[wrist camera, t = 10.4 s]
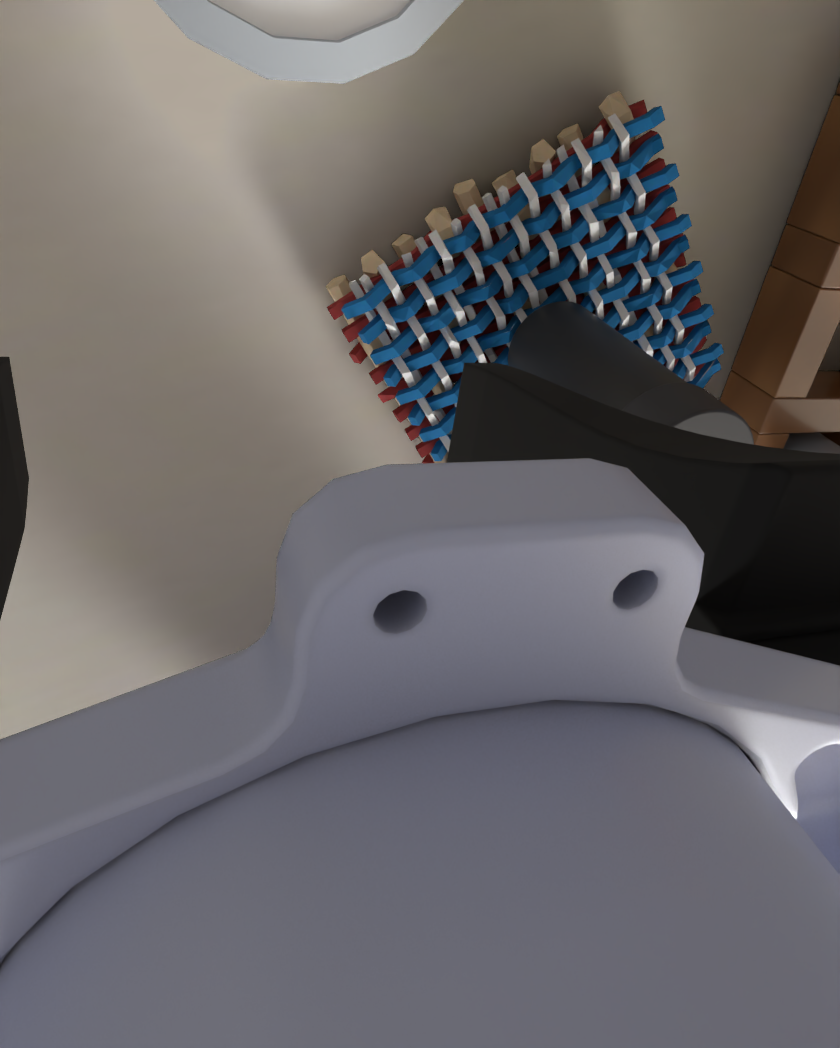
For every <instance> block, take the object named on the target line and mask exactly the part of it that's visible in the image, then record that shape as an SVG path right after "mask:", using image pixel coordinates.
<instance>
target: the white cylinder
mask: <svg viewBox="0 0 840 1048" xmlns="http://www.w3.org/2000/svg"><path fill="white" fill-rule="evenodd" d="M154 1H155V2H156V3H157V4H158V5H159V6H160V8H161V9H162V10H163V11H164V12H165V13H166V14H167V15H168V16H169V18H170V19H171V20H172V21H173V22H174V23H175V24H176V25H177V26H178V27H179V29H180V30H181V31H182V32H183V33H184V34H185V35H186V36H187V37H188V38H189V39H191V40H192V41H194V42H196V43H198V44H200V45H202V46H204V47H206V48H208V49H210V50H212V51H214V52H215V53H217V54H219V55H221V56H223V57H225V58H227V59H229V60H231V61H233V62H235V63H237V64H238V65H240V66H242V67H244V68H246V69H248V70H250V71H252V72H254V73H256V74H258V75H260V76H261V77H263V78H265V79H271V80H289V81H306V82H323V83H340V84H345V83H347V82H349V81H352V80H354V79H356V78H359V77H361V76H363V75H366V74H368V73H371V72H373V71H375V70H378V69H380V68H382V67H385V66H387V65H390V64H392V63H394V62H397V61H399V60H401V59H404V58H406V57H409V56H411V55H413V54H414V53H415V52H416V51H417V50H418V49H419V48H420V47H421V46H422V45H423V44H424V43H425V42H426V41H427V40H428V38H429V37H430V36H431V35H432V34H433V33H434V32H435V31H436V30H437V29H438V28H439V27H440V26H441V25H442V23H443V22H444V21H445V20H446V19H447V18H448V17H449V16H450V15H451V14H452V13H453V12H454V11H455V10H456V8H457V7H458V6H459V5H460V4H461V3H462V2H463V1H464V0H154Z"/></svg>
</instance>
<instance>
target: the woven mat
mask: <svg viewBox="0 0 840 1048" xmlns="http://www.w3.org/2000/svg"><path fill="white" fill-rule="evenodd" d="M599 109H600V111H601V113H602V114H603V116H604V119H602V120H601V121H600V123H599V124H598V125H597V126H596V128H595V129H594V130H593V132H592V133H591V134H590V135H589V136H587V137H586V138H583V135H582V133H581V130H580V127H579V125H578V124H576V125H573V126H570V127H568V128H565V129H563V130H562V131H561V132H560V134H559V135H558V136H557V138H558V141H559V143H560V146H561V147H559V148H558V149H557V150H556V151H557V154H558V157H557V158H556V159H555V155H556V151H555V150H554V149H553V148H552V147H551V146H550V145H549V144H548V143H547V142H546V141H545V140H544V139H542V140H541V141H539V142H538V143H537V144H535V145H534V146H533V147H532V148H531V156H530V164H529V169H530V171H531V174H532V175H531V176H529V177H528V178H527V176H526V175H525V173H524V172H523V173H521V174H520V175H519V176H516V174H515V173H514V171H513V169H512V170H511V171H509V172H507V173H505V174H503V175H501V176H500V177H498V178H497V179H496V180H495V181H494V182H492V185H493V187H494V189H495V191H496V192H497V194H498V196H497V197H495V198H493V196H492V194H491V193H486V194H485V195H484V196H483V197H482V198H481V195H480V193H479V191H478V188H477V186H476V184H475V182H474V180H473V179H470V180H467V181H464V182H461V183H458V184H455V187H454V190H453V194H454V196H455V198H456V200H457V202H458V205H459V207H460V209H461V211H462V213H463V216H461V217H458V218H455V219H453V220H452V219H451V217H450V215H449V213H448V211H447V209H446V207H440V208H434V209H433V210H432V211H431V212H430V213H429V214H428V215H427V217H426V218H425V220H426V222H427V224H428V226H429V227H430V229H431V231H429V232H428V233H427V235H426V236H425V237H424V238H423V236H421V237H420V238H418V239H416V240H414V238H413V236H411V235H407V234H402V235H401V236H400V237H399V238H398V239H397V240H396V241H395V242H394V243H393V244H392V246H393V248H394V250H395V252H396V253H397V255H398V257H399V260H398V261H396V262H394V263H393V264H391V265H390V266H388V267H387V266H386V264H385V262H384V261H383V260H382V259H381V258H380V257H379V256H378V255H377V254H376V253H375V252H374V251H373V250H371V251H370V252H368V253H367V254H366V255H364V256H363V257H362V258H361V261H362V269H363V273H364V275H363V276H362V277H361V278H360V279H359V280H360V282H361V285H360V286H359V284H358V283H357V281H356V280H354V281H351V282H349V281H348V279H347V278H346V276H345V274H344V275H342V276H339V277H336V278H333V279H332V280H331V281H330V282H329V283H328V285H327V286H326V288H327V290H328V291H329V293H330V295H331V296H332V298H333V300H334V301H335V302H334V303H333V304H331V305H330V306H328V307H327V308H328V311H329V312H330V314H331V316H332V317H333V319H334V320H335V319H337V318H338V317H340V316H342V315H343V316H344V318H345V319H346V321H347V323H348V324H349V325H348V326H346V327H345V328H343V329H342V332H343V334H344V335H345V337H346V338H347V340H348V342H351V341H353V340H354V339H356V338H357V339H358V341H359V342H358V344H357V345H356V346H355V347H354V348H353V350H352V351H351V352H350V353H349V354H350V356H351V358H352V359H353V361H354V362H355V363H359V364H361V363H362V361H363V360H364V359H365V358H366V357H367V356H369V358H370V359H371V361H372V362H373V364H374V365H375V367H376V368H375V369H374V370H372V371H371V372H370V373H369V374H370V376H371V378H372V379H373V381H374V382H375V384H376V385H377V384H378V383H380V382H381V381H383V380H384V382H385V383H386V385H387V386H388V388H387V389H385V390H384V391H382V392H381V393H380V394H378V397H379V398H380V399H381V401H382V402H383V403H384V402H386V401H389V400H391V399H393V398H395V399H396V401H397V402H398V404H399V407H398V408H396V409H395V410H394V411H392V412H393V413H394V415H395V416H396V418H397V420H398V421H399V422H402V421H403V420H405V419H406V418H408V420H409V422H410V423H411V426H409V427H408V428H406V429H405V431H406V433H407V435H408V436H409V438H410V440H411V441H412V440H414V439H415V438H417V437H418V436H419V438H420V439H421V441H422V442H421V443H420V444H418V445H416V449H417V451H418V452H419V454H420V456H421V457H422V458H423V457H424V456H426V455H427V456H426V457H425V459H424V460H423V462H422V463H447V458H448V452H449V446H450V441H451V435H452V429H453V423H454V418H455V412H456V406H457V400H458V395H459V389H460V383H461V377H462V372H463V366H464V363H498V364H504V365H508V352H509V347H510V343H511V340H512V338H513V335H514V334H515V332H516V330H517V328H518V327H519V326H520V324H521V323H522V322H523V321H524V319H525V318H527V317H528V316H529V315H530V314H531V313H532V312H534V311H535V310H537V309H538V308H540V307H542V306H544V305H547V304H550V303H554V302H560V301H568V302H574V303H577V304H579V305H582V306H583V307H585V308H586V309H588V310H589V311H590V312H592V313H593V314H594V315H596V316H597V317H598V318H600V319H601V320H603V321H604V322H605V323H607V324H608V325H609V326H611V327H612V328H613V329H615V330H616V331H618V332H619V333H620V334H622V335H623V336H624V337H626V338H627V339H628V340H630V341H631V342H633V343H634V344H635V345H637V346H638V347H639V348H641V349H642V350H643V351H645V352H646V353H648V354H649V355H650V356H652V357H653V358H654V359H656V360H657V361H658V362H660V363H661V364H663V365H664V366H665V367H667V368H668V369H669V370H671V371H672V372H673V373H675V374H676V375H678V376H679V377H680V378H682V379H683V380H684V381H686V382H687V383H690V384H694V385H697V386H699V387H701V388H704V386H705V385H706V384H707V382H708V381H709V379H710V378H711V377H712V375H713V374H714V373H716V372H718V371H719V370H721V366H720V362H719V361H718V359H717V358H718V357H719V356H720V355H721V354H723V353H724V351H723V348H722V345H721V344H719V343H714V344H713V345H711V346H710V347H709V348H707V349H704V350H702V351H699V350H700V349H701V348H702V347H703V345H704V343H705V342H706V340H707V339H706V335H708V334H710V333H711V328H710V324H709V323H708V321H707V319H708V318H710V317H711V316H712V315H713V314H714V312H713V308H712V305H711V304H704V305H702V306H701V302H700V299H699V298H698V297H696V296H694V295H696V294H698V293H700V292H701V289H700V285H699V283H698V281H697V279H694V278H696V277H697V276H698V275H700V274H701V273H702V272H703V268H702V265H701V262H700V261H693V262H692V263H690V264H689V265H688V266H686V267H684V268H682V269H679V270H678V269H677V267H681V266H684V265H686V261H685V257H684V253H683V252H684V251H686V250H687V249H689V248H690V247H689V243H688V239H687V237H686V236H685V235H683V233H682V232H684V231H685V230H686V229H688V228H689V227H691V226H692V225H691V221H690V218H689V214H682V215H680V216H679V217H678V218H677V217H676V213H675V209H674V208H671V207H669V208H667V207H668V206H670V205H671V204H673V203H674V202H676V201H677V197H676V193H675V190H674V188H673V187H670V186H669V185H667V184H669V183H670V182H671V181H673V180H674V179H676V178H677V177H678V176H679V173H678V170H677V166H676V164H668V165H667V166H666V165H665V162H664V159H662V158H658V159H656V160H654V161H652V162H651V163H649V164H647V165H645V164H646V163H647V162H648V161H649V160H650V159H651V157H652V156H653V155H655V154H656V153H658V152H659V151H661V150H662V149H663V148H664V147H663V143H662V139H661V137H660V135H659V133H658V134H657V132H655V131H649V132H647V133H646V134H644V135H643V136H641V137H640V138H638V139H636V140H635V137H636V135H638V134H641V133H643V132H645V131H647V130H649V129H652V128H654V127H655V126H657V125H658V124H660V123H661V122H662V121H664V120H665V118H664V114H663V110H662V107H661V106H659V107H655V108H653V109H651V110H650V111H649V112H647V109H646V106H645V102H644V100H642V101H639V102H637V103H634V104H632V105H629V106H628V105H627V103H626V101H625V100H624V98H623V96H622V95H621V93H620V91H618V92H616V93H613V94H610V95H608V96H607V98H606V99H605V100H604V101H603V102H602V103H601V105H600V106H599ZM599 161H600V163H599V164H597V165H596V166H594V163H596V162H599ZM644 165H645V166H644ZM566 183H567V184H566ZM565 184H566V185H565ZM652 190H653V191H652ZM650 191H651V192H650ZM648 192H649V193H648ZM646 193H648V194H646ZM538 197H540V198H538ZM482 199H483V200H482ZM666 208H667V209H666ZM571 210H572V211H571ZM494 227H495V228H494ZM475 242H476V243H475ZM474 243H475V244H474ZM472 244H473V245H472ZM471 245H472V246H471ZM517 245H519V247H517V248H516V249H515V247H516V246H517ZM557 249H560V250H558V251H557ZM549 254H550V256H548V255H549ZM440 258H442V261H443V265H442V266H440V267H438V265H437V261H438V260H439V259H440ZM485 266H487V267H486V268H484V269H483V270H482V267H485ZM411 282H412V283H413V284H412V285H410V286H409V287H407V288H406V289H404V290H403V291H401V289H400V287H399V286H402V285H405V284H408V283H411ZM650 285H651V286H650ZM606 286H607V288H606ZM692 296H693V297H692ZM540 303H541V305H540ZM423 304H424V306H425V307H423V308H421V307H422V305H423ZM420 308H421V309H420ZM419 309H420V310H419ZM662 329H663V330H662ZM391 340H393V342H391ZM697 351H699V352H697ZM483 352H484V353H483ZM508 366H509V365H508ZM456 381H457V383H456V384H455V385H454V386H453V383H452V382H456ZM433 394H435V395H434V396H433Z"/></svg>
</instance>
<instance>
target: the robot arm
mask: <svg viewBox="0 0 840 1048" xmlns="http://www.w3.org/2000/svg"><path fill="white" fill-rule="evenodd" d="M28 482H29V476H28V469H27V463H26V457H25V451H24V445H23V439H22V433H21V427H20V421H19V414H18V408H17V402H16V396H15V390H14V384H13V378H12V372H11V366H10V359H9V357H0V619H1V615H2V612H3V608H4V604H5V600H6V597H7V593H8V589H9V586H10V582H11V578H12V574H13V571H14V567H15V563H16V559H17V556H18V552H19V548H20V544H21V540H22V536H23V532H24V528H25V518H26V508H27V496H28ZM0 1048H840V454H834V453H817V452H806V451H798V450H790V449H781V448H773V447H766V446H760V445H753V444H747V443H741V442H736V441H731V440H726V439H721V438H716V437H711V436H706V435H702V434H698V433H694V432H690V431H686V430H682V429H679V428H675V427H672V426H668V425H665V424H661V423H658V422H654V421H651V420H648V419H645V418H642V417H639V416H636V415H633V414H630V413H627V412H625V411H622V410H619V409H617V408H614V407H611V406H609V405H606V404H603V403H601V402H598V401H596V400H593V399H591V398H588V397H586V396H584V395H581V394H579V393H576V392H574V391H572V390H569V389H567V388H565V387H562V386H560V385H557V384H555V383H553V382H550V381H548V380H546V379H543V378H541V377H538V376H536V375H533V374H531V373H528V372H526V371H523V370H520V369H517V368H514V367H511V366H508V365H504V364H498V363H464V366H463V372H462V377H461V383H460V389H459V395H458V400H457V406H456V412H455V418H454V423H453V429H452V435H451V441H450V446H449V452H448V458H447V463H423V464H391V465H383V466H380V467H376V468H372V469H368V470H365V471H361V472H357V473H353V474H350V475H346V476H342V477H338V478H335V479H333V480H332V481H330V482H329V483H328V484H327V485H326V486H325V487H323V488H322V489H321V490H320V491H319V492H318V493H316V494H315V495H314V496H313V497H312V498H310V499H309V500H308V501H307V502H306V503H305V504H303V505H302V506H301V507H300V508H299V509H298V510H296V511H295V512H294V513H293V514H292V517H291V520H290V523H289V525H288V528H287V531H286V534H285V536H284V539H283V542H282V544H281V547H280V550H279V553H278V555H277V565H276V589H275V605H274V610H273V614H272V619H271V623H270V625H269V627H268V628H267V630H266V632H265V634H264V635H263V636H262V637H261V638H260V639H259V640H257V641H256V642H255V643H254V644H252V645H251V646H250V647H248V648H247V649H244V650H241V651H239V652H236V653H233V654H230V655H228V656H225V657H222V658H220V659H217V660H214V661H212V662H209V663H206V664H203V665H201V666H198V667H195V668H193V669H190V670H187V671H184V672H182V673H179V674H176V675H174V676H171V677H168V678H165V679H163V680H160V681H157V682H155V683H152V684H149V685H147V686H144V687H141V688H138V689H136V690H133V691H130V692H128V693H125V694H122V695H119V696H117V697H114V698H111V699H109V700H106V701H103V702H100V703H98V704H95V705H92V706H90V707H87V708H84V709H82V710H79V711H76V712H73V713H71V714H68V715H65V716H63V717H60V718H57V719H54V720H52V721H49V722H46V723H44V724H41V725H38V726H35V727H33V728H30V729H27V730H25V731H22V732H19V733H17V734H14V735H11V736H8V737H6V738H3V739H0Z"/></svg>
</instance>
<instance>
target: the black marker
mask: <svg viewBox="0 0 840 1048" xmlns="http://www.w3.org/2000/svg"><path fill="white" fill-rule="evenodd" d="M508 365H509V366H511V367H514V368H517V369H520V370H523V371H526V372H528V373H531V374H533V375H536V376H538V377H541V378H543V379H546V380H548V381H550V382H553V383H555V384H557V385H560V386H562V387H565V388H567V389H569V390H572V391H574V392H576V393H579V394H581V395H584V396H586V397H588V398H591V399H593V400H596V401H598V402H601V403H603V404H606V405H609V406H611V407H614V408H617V409H619V410H622V411H625V412H627V413H630V414H633V415H636V416H639V417H642V418H645V419H648V420H651V421H654V422H658V423H661V424H665V425H668V426H672V427H675V428H679V429H682V430H686V431H690V432H694V433H698V434H702V435H706V436H711V437H716V438H721V439H726V440H731V441H736V442H741V443H747V444H753V445H754V440H753V435H752V432H751V429H750V427H749V425H748V424H747V422H746V421H745V420H744V419H743V418H742V417H741V416H740V415H739V414H737V413H736V412H735V411H733V410H732V409H730V408H729V407H728V406H726V405H725V404H724V403H722V402H721V401H719V400H718V399H717V398H715V397H714V396H713V395H711V394H710V393H708V392H707V391H706V390H704V389H703V388H701V387H699V386H697V385H694V384H690V383H687V382H686V381H684V380H683V379H682V378H680V377H679V376H678V375H676V374H675V373H673V372H672V371H671V370H669V369H668V368H667V367H665V366H664V365H663V364H661V363H660V362H658V361H657V360H656V359H654V358H653V357H652V356H650V355H649V354H648V353H646V352H645V351H643V350H642V349H641V348H639V347H638V346H637V345H635V344H634V343H633V342H631V341H630V340H628V339H627V338H626V337H624V336H623V335H622V334H620V333H619V332H618V331H616V330H615V329H613V328H612V327H611V326H609V325H608V324H607V323H605V322H604V321H603V320H601V319H600V318H598V317H597V316H596V315H594V314H593V313H592V312H590V311H589V310H588V309H586V308H585V307H583V306H582V305H579V304H577V303H574V302H568V301H560V302H554V303H550V304H547V305H544V306H542V307H540V308H538V309H537V310H535V311H534V312H532V313H531V314H530V315H529V316H528V317H527V318H525V319H524V321H523V322H522V323H521V324H520V326H519V327H518V328H517V330H516V332H515V334H514V335H513V338H512V340H511V343H510V347H509V352H508Z"/></svg>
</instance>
